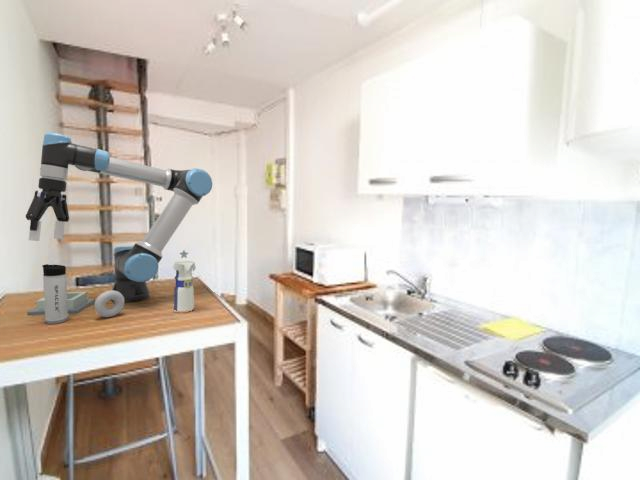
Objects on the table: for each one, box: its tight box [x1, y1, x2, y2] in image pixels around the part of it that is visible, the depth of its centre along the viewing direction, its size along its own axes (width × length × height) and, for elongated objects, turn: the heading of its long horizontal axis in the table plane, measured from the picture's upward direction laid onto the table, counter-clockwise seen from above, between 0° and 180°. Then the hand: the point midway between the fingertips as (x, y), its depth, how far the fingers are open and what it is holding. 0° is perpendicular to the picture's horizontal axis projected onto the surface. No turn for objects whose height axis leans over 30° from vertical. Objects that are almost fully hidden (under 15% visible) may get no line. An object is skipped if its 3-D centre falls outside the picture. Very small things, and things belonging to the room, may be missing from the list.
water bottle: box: [172, 249, 196, 311], centre depth 136 cm, size 8×8×25 cm
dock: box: [27, 291, 96, 316], centre depth 134 cm, size 16×16×5 cm
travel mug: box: [41, 263, 69, 325], centre depth 118 cm, size 6×7×20 cm
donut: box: [93, 289, 126, 318], centre depth 125 cm, size 10×3×10 cm, turn 143°
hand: (46, 239), depth 119 cm, fingers open, 13 cm apart
